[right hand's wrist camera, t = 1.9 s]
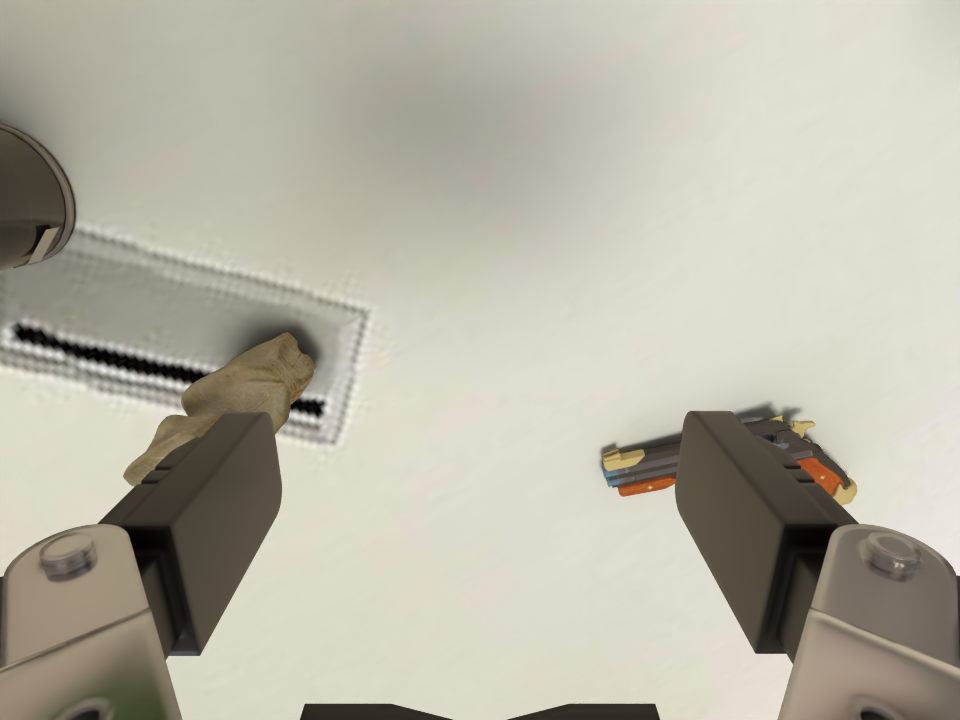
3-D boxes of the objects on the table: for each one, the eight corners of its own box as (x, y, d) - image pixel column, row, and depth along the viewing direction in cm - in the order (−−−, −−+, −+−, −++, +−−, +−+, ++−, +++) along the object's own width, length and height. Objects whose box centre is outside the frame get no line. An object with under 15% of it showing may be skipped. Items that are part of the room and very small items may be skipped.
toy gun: (864, 508, 45) (864, 407, 41) (625, 555, 48) (601, 466, 44) (846, 486, 47) (843, 387, 43) (619, 532, 51) (596, 444, 46)
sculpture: (214, 357, 43) (86, 460, 29) (290, 311, 42) (195, 394, 28) (262, 417, 45) (163, 541, 31) (337, 374, 44) (269, 483, 30)
